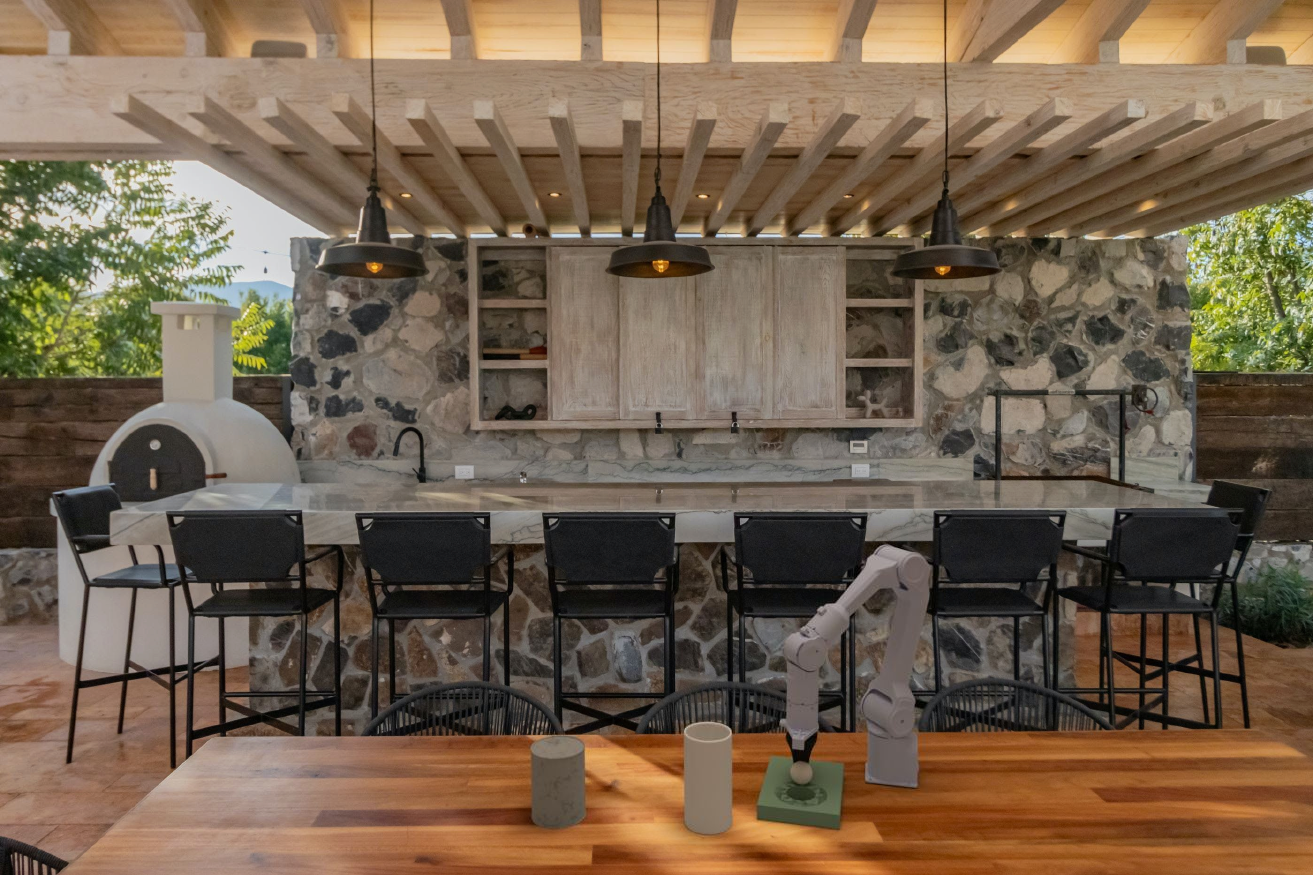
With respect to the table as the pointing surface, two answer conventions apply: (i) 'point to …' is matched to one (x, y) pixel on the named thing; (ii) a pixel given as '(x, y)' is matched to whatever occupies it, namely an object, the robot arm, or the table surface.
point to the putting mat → (802, 794)
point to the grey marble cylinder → (558, 781)
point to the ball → (801, 772)
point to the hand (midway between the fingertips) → (800, 771)
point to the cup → (708, 777)
